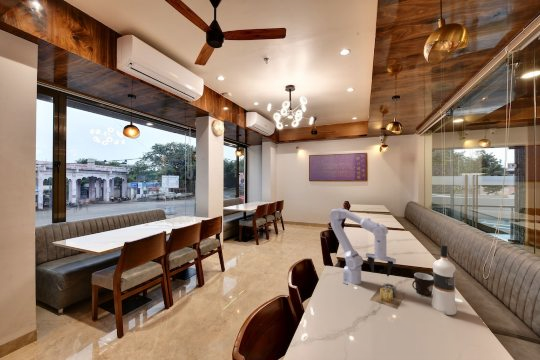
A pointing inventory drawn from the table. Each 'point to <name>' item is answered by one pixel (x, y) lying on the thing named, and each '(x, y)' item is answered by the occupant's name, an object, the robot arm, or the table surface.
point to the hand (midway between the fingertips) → (380, 273)
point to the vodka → (444, 284)
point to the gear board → (394, 304)
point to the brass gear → (386, 295)
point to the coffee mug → (423, 284)
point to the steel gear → (390, 288)
